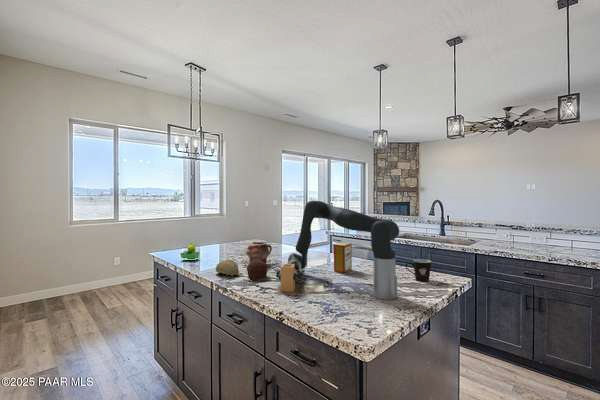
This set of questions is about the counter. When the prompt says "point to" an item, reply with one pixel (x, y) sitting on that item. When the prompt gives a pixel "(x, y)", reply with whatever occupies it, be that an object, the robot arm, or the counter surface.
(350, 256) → the baking soda box
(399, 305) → the counter surface
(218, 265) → the bread roll
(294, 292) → the post board
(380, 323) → the counter surface
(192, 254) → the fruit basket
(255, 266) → the muffin
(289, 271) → the sleeve
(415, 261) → the coffee mug
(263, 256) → the reddish brown pitcher
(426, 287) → the counter surface
